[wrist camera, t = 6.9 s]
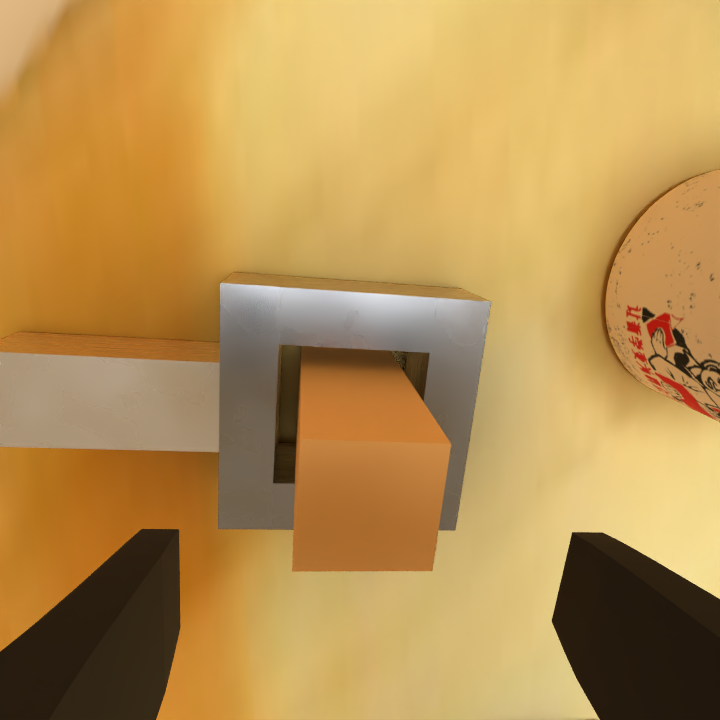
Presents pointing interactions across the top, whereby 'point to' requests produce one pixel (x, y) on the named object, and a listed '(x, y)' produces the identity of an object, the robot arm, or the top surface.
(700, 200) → the teacup with lid
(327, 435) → the square peg
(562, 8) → the top surface
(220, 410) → the bracket
